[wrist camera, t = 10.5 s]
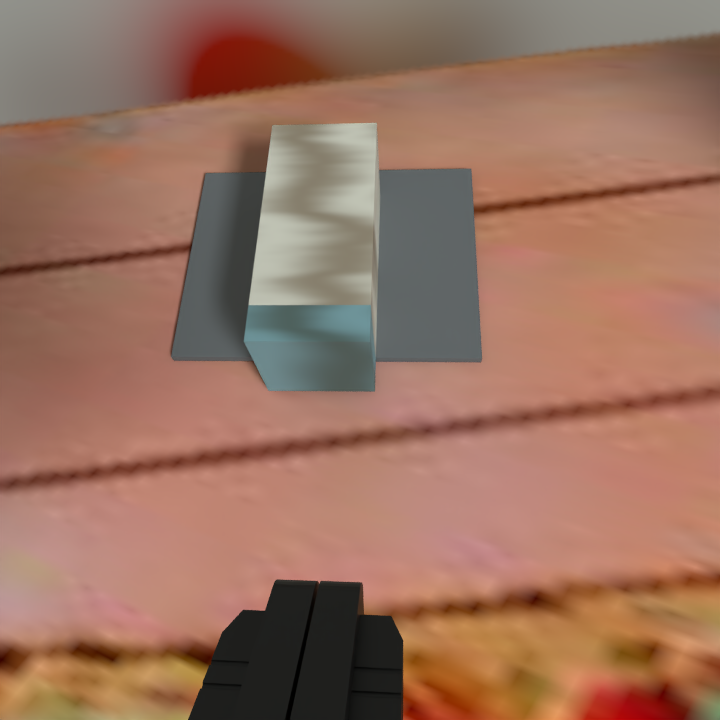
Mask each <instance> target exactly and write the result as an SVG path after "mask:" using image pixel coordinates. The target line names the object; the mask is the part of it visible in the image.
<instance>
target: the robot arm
mask: <svg viewBox="0 0 720 720" xmlns="http://www.w3.org/2000/svg"><path fill="white" fill-rule="evenodd" d="M188 720H403V639H402V637H401V635H400V633H399V631H398V629H397V627H396V625H395V623H394V621H393V619H392V617H391V616H378V615H364V604H363V584H362V583H360V582H334V581H321V582H320V584H319V582H318V581H303V580H276V581H275V583H274V585H273V588H272V591H271V594H270V597H269V600H268V604H267V607H266V610H265V611H256V610H243V611H242V612H241V613H240V614H239V615H238V616H237V617H236V618H235V619H234V620H233V621H232V622H231V624H230V625H229V626H228V627H227V628H226V629H225V630H224V631H223V632H222V634H221V637H220V639H219V642H218V645H217V647H216V650H215V652H214V655H213V657H212V662H211V665H209V668H208V670H207V673H206V675H205V678H204V680H203V686H202V689H200V691H199V693H198V696H197V698H196V701H195V703H194V706H193V709H192V711H191V714H190V716H189V719H188Z"/></svg>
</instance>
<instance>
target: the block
mask: <svg viewBox="0 0 720 720" xmlns="http://www.w3.org/2000/svg"><path fill="white" fill-rule="evenodd" d="M379 220H380V180H379V160H378V139H377V123H353V124H309V125H272V132H271V140H270V147H269V155H268V163H267V170H266V178H265V185H264V193H263V200H262V208H261V215H260V223H259V230H258V238H257V245H256V253H255V260H254V268H253V275H252V283H251V290H250V298H249V305H248V313H247V320H246V328H245V335H244V343H245V345H246V347H247V349H248V351H249V353H250V355H251V357H252V359H253V361H254V363H255V365H256V367H257V369H258V371H259V373H260V375H261V377H262V379H263V381H264V383H265V385H266V387H267V389H268V391H375V368H376V331H377V294H378V257H379Z"/></svg>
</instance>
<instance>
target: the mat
mask: <svg viewBox="0 0 720 720" xmlns="http://www.w3.org/2000/svg"><path fill="white" fill-rule="evenodd" d="M265 178H266V172H249V173H206V175H205V180H204V185H203V191H202V196H201V201H200V207H199V212H198V217H197V222H196V228H195V233H194V238H193V244H192V249H191V254H190V259H189V265H188V270H187V275H186V281H185V286H184V291H183V296H182V302H181V307H180V312H179V318H178V323H177V328H176V333H175V339H174V344H173V349H172V355H171V357H172V359H173V360H175V361H253V359H252V357H251V355H250V353H249V351H248V349H247V347H246V345H245V343H244V335H245V328H246V320H247V313H248V305H249V298H250V290H251V283H252V275H253V268H254V260H255V253H256V245H257V238H258V230H259V223H260V215H261V208H262V200H263V193H264V185H265ZM379 180H380V220H379V257H378V294H377V331H376V362H481V360H482V350H481V332H480V314H479V297H478V279H477V261H476V244H475V226H474V208H473V191H472V173H471V169H424V170H379Z"/></svg>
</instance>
